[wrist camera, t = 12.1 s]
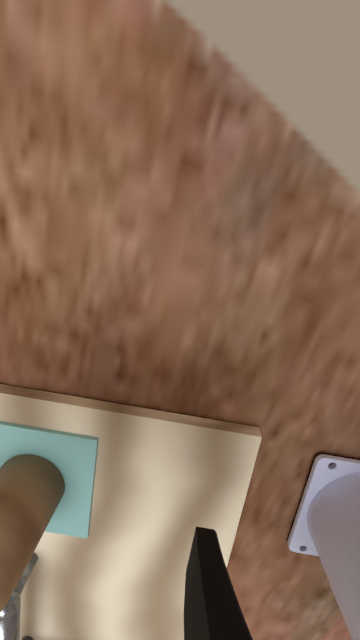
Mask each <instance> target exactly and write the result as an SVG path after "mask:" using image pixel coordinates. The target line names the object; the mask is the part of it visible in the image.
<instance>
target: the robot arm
mask: <svg viewBox="0 0 360 640" xmlns="http://www.w3.org/2000/svg"><path fill="white" fill-rule="evenodd" d="M330 463H333V464H331V465H329V464H330ZM288 547H289V549H290V550H291V551H293V552H297V553H302V554H308V555H314V556H319V558H320V561H321V563H322V566H323V568H324V571H325V573H326V576H327V578H328V581H329V584H330V586H331V589H332V591H333V594H334V596H335V599H336V601H337V604H338V606H339V609H340V611H341V614H342V616H343V619H344V621H345V624H346V626H347V629H348V632H349V634H350V637H351V639H352V640H360V460H355V459H349V458H343V457H337V456H331V455H325V454H321V455H318V456H317V457H316V458H315V460H314V463H313V466H312V469H311V472H310V475H309V478H308V481H307V484H306V487H305V490H304V493H303V496H302V499H301V502H300V505H299V509H298V512H297V515H296V518H295V521H294V524H293V527H292V530H291V533H290V536H289V539H288ZM184 640H253V639H252V637H251V634H250V632H249V629H248V627H247V624H246V622H245V619H244V617H243V614H242V611H241V608H240V606H239V603H238V600H237V598H236V595H235V592H234V589H233V586H232V583H231V580H230V577H229V574H228V571H227V568H226V565H225V562H224V558H223V555H222V552H221V548H220V544H219V541H218V537H217V533H216V531H215V530H214V529H208V528H203V527H197V526H196V529H195V533H194V538H193V542H192V547H191V551H190V556H189V560H188V565H187V569H186V579H185V596H184Z"/></svg>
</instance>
